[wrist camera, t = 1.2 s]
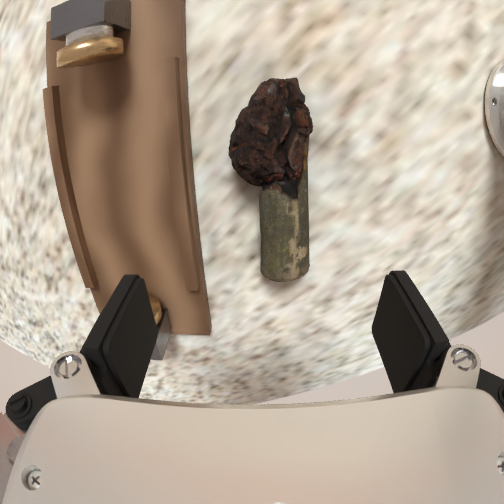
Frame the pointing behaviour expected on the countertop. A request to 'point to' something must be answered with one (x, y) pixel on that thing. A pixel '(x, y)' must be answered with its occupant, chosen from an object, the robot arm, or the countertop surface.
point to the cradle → (131, 165)
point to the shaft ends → (91, 52)
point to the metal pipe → (277, 173)
